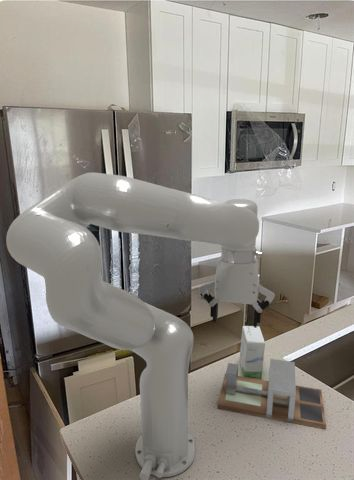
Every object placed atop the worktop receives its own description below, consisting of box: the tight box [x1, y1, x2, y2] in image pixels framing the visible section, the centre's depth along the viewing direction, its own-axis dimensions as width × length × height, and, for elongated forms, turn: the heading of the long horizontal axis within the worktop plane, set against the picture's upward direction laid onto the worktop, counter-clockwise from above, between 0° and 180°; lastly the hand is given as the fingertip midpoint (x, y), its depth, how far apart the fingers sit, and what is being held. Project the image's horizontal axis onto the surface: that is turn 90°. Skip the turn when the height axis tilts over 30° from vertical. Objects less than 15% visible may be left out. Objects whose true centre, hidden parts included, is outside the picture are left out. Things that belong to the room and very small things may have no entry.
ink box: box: [239, 325, 266, 380], centre depth 101 cm, size 9×5×12 cm, turn 179°
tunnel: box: [266, 358, 297, 424], centre depth 90 cm, size 12×6×8 cm, turn 164°
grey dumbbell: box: [225, 362, 290, 407], centre depth 91 cm, size 6×16×6 cm, turn 74°
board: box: [217, 373, 327, 430], centre depth 91 cm, size 12×24×1 cm, turn 74°
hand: (235, 322), depth 88 cm, fingers open, 9 cm apart
